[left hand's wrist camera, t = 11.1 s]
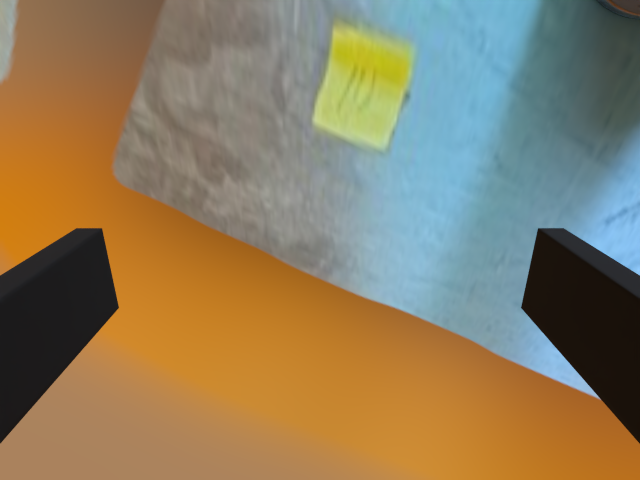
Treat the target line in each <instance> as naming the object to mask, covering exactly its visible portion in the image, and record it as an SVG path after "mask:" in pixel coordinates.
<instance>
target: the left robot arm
mask: <svg viewBox="0 0 640 480" xmlns="http://www.w3.org/2000/svg"><path fill="white" fill-rule="evenodd" d="M597 1H598V2H599V3H601V4H602V5H603V6H604V7H606V8H607V9H609V10H610V11H612V12H614V13H616V14H619V15H622V16H625V17H629V18H637V19H640V0H597ZM118 308H119V306H118V302H117V297H116V292H115V288H114V283H113V278H112V274H111V269H110V264H109V259H108V255H107V250H106V245H105V241H104V236H103V231H102V229H101V228H77V229H75V230H73V231H72V232H70V233H68V234H67V235H65V236H64V237H62V238H60V239H59V240H57V241H55V242H54V243H52V244H51V245H49V246H47V247H46V248H44V249H42V250H41V251H39V252H38V253H36V254H34V255H33V256H31V257H30V258H28V259H26V260H25V261H23V262H22V263H20V264H18V265H17V266H15V267H14V268H12V269H10V270H9V271H7V272H5V273H4V274H2V275H1V276H0V443H1V442H2V441H3V440H4V439H5V438H6V436H7V435H8V434H9V433H10V432H11V431H12V429H13V428H14V427H15V426H16V425H17V424H18V423H19V421H20V420H21V419H22V418H23V417H24V416H25V415H26V413H27V412H28V411H29V410H30V409H31V408H32V406H33V405H34V404H35V403H36V402H37V401H38V400H39V399H40V397H41V396H42V395H43V394H44V393H45V392H46V391H47V389H48V388H49V387H50V386H51V385H52V384H53V383H54V381H55V380H56V379H57V378H58V377H59V376H60V375H61V373H62V372H63V371H64V370H65V369H66V368H67V367H68V365H69V364H70V363H71V362H72V361H73V360H74V359H75V357H76V356H77V355H78V354H79V353H80V352H81V350H82V349H83V348H84V347H85V346H86V345H87V344H88V342H89V341H90V340H91V339H92V338H93V337H94V336H95V334H96V333H97V332H98V331H99V330H100V329H101V328H102V326H103V325H104V324H105V323H106V322H107V321H108V319H109V318H110V317H111V316H112V315H113V314H114V313H115V312H116V310H117V309H118ZM521 308H522V309H523V310H524V312H525V313H526V314H527V315H528V316H529V317H530V318H531V320H532V321H533V322H534V323H535V324H536V325H537V326H538V328H539V329H540V330H541V331H542V332H543V333H544V334H545V336H546V337H547V338H548V339H549V340H550V341H551V342H552V344H553V345H554V346H555V347H556V348H557V349H558V351H559V352H560V353H561V354H562V355H563V356H564V357H565V359H566V360H567V361H568V362H569V363H570V364H571V365H572V367H573V368H574V369H575V370H576V371H577V372H578V373H579V375H580V376H581V377H582V378H583V379H584V380H585V381H586V383H587V384H588V385H589V386H590V387H591V388H592V389H593V391H594V392H595V393H596V394H597V395H598V396H599V397H600V399H601V400H602V401H603V402H604V403H605V404H606V405H607V407H608V408H609V409H610V410H611V411H612V412H613V413H614V415H615V416H616V417H617V418H618V419H619V420H620V421H621V423H622V424H623V425H624V426H625V427H626V428H627V429H628V431H629V432H630V433H631V434H632V435H633V436H634V438H635V439H636V440H637V441H638V442H639V443H640V276H639V275H638V274H636V273H635V272H633V271H631V270H630V269H628V268H627V267H625V266H623V265H622V264H620V263H618V262H617V261H615V260H614V259H612V258H610V257H609V256H607V255H606V254H604V253H602V252H601V251H599V250H598V249H596V248H594V247H593V246H591V245H589V244H588V243H586V242H585V241H583V240H581V239H580V238H578V237H577V236H575V235H573V234H572V233H570V232H568V231H567V230H565V229H564V228H538V231H537V236H536V241H535V245H534V250H533V255H532V259H531V264H530V269H529V274H528V278H527V283H526V288H525V292H524V297H523V302H522V306H521Z"/></svg>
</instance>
